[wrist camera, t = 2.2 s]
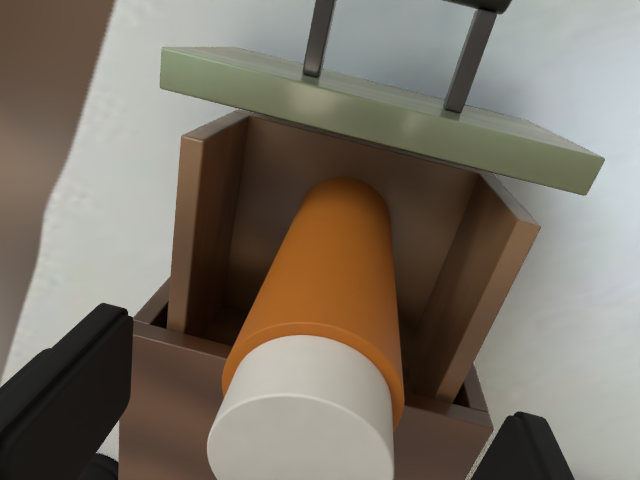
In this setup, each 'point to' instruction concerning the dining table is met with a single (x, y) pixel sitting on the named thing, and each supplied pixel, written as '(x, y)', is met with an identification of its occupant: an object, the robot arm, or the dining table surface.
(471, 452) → the cabinet
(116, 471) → the chess piece
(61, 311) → the dining table surface
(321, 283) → the pill bottle
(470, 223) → the drawer
